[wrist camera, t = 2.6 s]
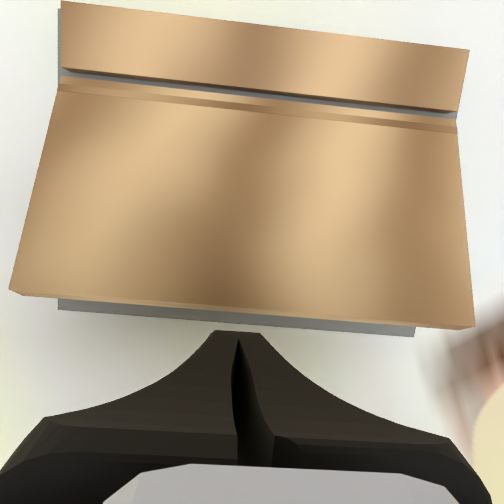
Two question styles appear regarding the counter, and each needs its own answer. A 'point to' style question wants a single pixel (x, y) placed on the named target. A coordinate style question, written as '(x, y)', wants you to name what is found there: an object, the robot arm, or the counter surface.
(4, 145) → the counter surface
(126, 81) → the underlay
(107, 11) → the strip
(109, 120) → the plank
